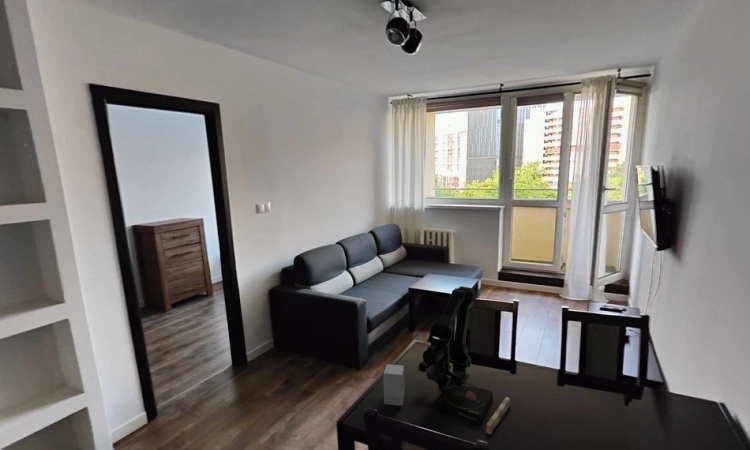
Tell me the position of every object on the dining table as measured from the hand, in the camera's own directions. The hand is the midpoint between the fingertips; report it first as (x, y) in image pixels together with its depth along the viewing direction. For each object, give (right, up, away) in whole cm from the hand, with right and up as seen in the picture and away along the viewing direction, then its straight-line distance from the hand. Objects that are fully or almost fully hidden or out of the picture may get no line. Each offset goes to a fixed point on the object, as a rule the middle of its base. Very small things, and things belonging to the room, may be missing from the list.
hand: (441, 391), depth 139 cm
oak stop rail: (+18, -3, -14) cm, 23 cm away
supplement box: (-19, -3, -1) cm, 19 cm away
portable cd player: (+8, -3, -5) cm, 10 cm away
